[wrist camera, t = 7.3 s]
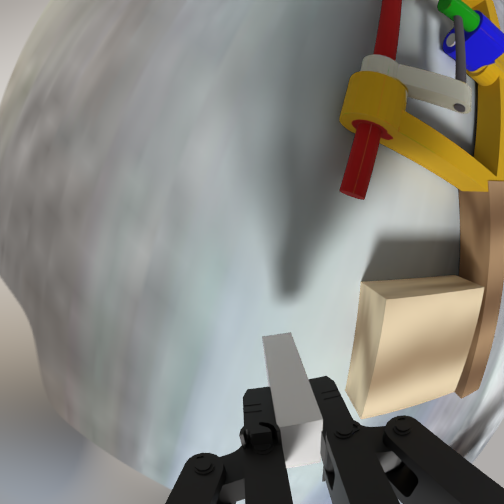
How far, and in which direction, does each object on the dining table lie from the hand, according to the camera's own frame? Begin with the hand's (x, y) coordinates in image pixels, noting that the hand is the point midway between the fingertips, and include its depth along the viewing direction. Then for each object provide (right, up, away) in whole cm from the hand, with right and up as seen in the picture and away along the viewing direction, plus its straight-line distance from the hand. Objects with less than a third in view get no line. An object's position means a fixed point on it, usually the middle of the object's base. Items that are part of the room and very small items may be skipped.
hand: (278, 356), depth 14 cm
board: (+17, +2, +4) cm, 17 cm away
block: (+10, -1, +5) cm, 11 cm away
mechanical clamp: (+15, +21, +1) cm, 26 cm away
